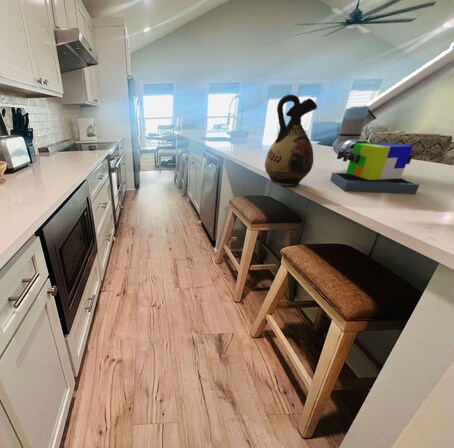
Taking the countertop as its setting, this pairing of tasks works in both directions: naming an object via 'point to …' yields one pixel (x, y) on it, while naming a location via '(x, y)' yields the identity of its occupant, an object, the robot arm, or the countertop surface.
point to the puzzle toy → (380, 160)
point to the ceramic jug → (290, 145)
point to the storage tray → (373, 184)
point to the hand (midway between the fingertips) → (383, 159)
